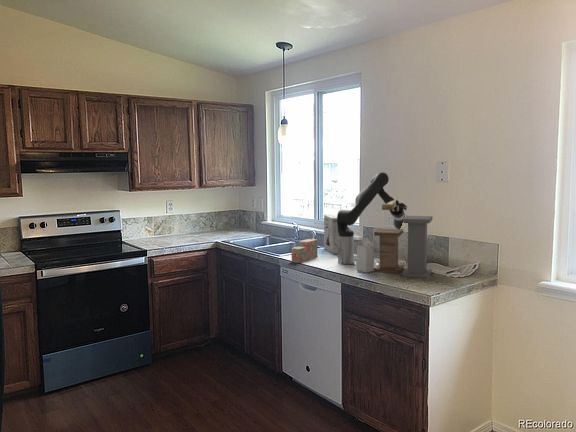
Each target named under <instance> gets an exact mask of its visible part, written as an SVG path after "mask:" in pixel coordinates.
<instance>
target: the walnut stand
mask: <svg viewBox="0 0 576 432" xmlns="http://www.w3.org/2000/svg"><path fill="white" fill-rule="evenodd" d="M373 233H374V234H373V235H374V237H376V236H377V237H379V264H378V265H376V267H374V271H373V272H378V273H390V274H400V272H401V271H402V270H403V269H404V264H399V237H400V236H402V235H403V234H404V228H402V229H397V228H378V229H376V230H375V231H374V232H373ZM402 268H403V269H402Z"/></svg>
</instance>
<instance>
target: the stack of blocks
mask: <svg viewBox="0 0 576 432" xmlns="http://www.w3.org/2000/svg"><path fill="white" fill-rule="evenodd" d="M318 255H319V254H318V239H317V238H316V239H315V238H308V239H303V240H300V241H299V244H298V246H295V247H292V248H291V255H290V256H291V263H296V264H301V263H304V262H307V261H309V260H313V259H317V258H318V257H319V256H318Z"/></svg>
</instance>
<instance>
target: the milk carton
mask: <svg viewBox="0 0 576 432" xmlns="http://www.w3.org/2000/svg"><path fill="white" fill-rule="evenodd" d="M374 269H375V245H374V244H373V242H372V241H371V240H370V237H367V238H362V239H360V242H359V243H357V245H356V271H357V272H362V273H370V272H375V271H374Z"/></svg>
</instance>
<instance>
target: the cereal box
mask: <svg viewBox="0 0 576 432" xmlns="http://www.w3.org/2000/svg"><path fill="white" fill-rule="evenodd" d="M337 215H338V214H334V213H329V214H328V213H327V214H323V227H324V228H323V232H324V233H323V234H324V235H323V236H324V237H323V239H324V241H323V242H324V246H323V247H324V249H325V251H328V252H329V253H331V254H332V255H338V247H339V233H338V227H337Z"/></svg>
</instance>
